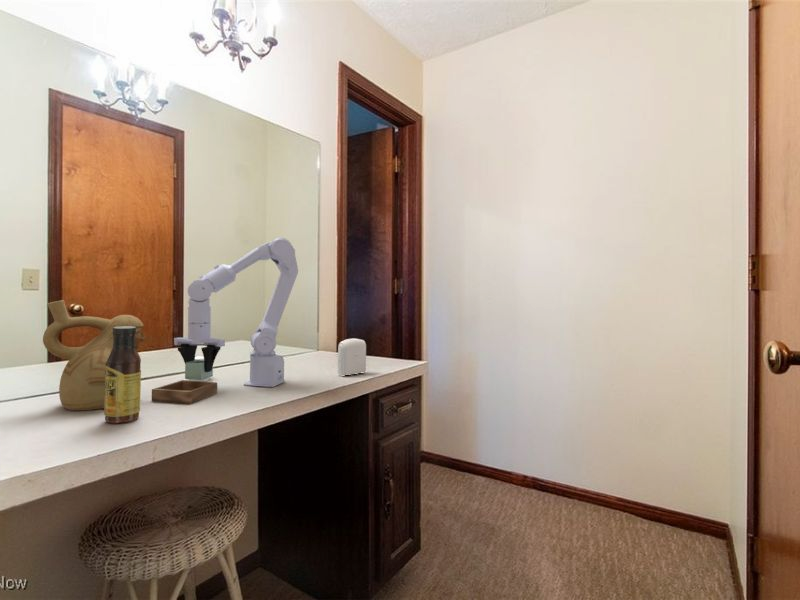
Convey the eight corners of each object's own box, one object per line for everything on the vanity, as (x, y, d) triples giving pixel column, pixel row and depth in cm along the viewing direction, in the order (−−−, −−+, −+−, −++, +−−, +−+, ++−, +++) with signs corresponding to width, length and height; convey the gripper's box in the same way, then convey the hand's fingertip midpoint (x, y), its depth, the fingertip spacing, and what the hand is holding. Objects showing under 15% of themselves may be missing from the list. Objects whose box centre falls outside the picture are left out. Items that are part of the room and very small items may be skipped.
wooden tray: (217, 393, 107) (217, 382, 107) (189, 404, 96) (190, 392, 96) (181, 391, 109) (182, 380, 109) (151, 401, 98) (151, 389, 98)
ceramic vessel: (151, 404, 95) (152, 301, 95) (41, 420, 82) (42, 300, 82) (139, 390, 108) (140, 299, 108) (43, 402, 95) (43, 298, 95)
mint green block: (212, 376, 114) (213, 360, 114) (201, 380, 109) (201, 363, 109) (197, 375, 115) (197, 359, 115) (185, 378, 110) (185, 362, 110)
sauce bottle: (101, 419, 84) (102, 326, 84) (136, 413, 88) (137, 324, 88) (107, 427, 79) (108, 328, 79) (143, 421, 84) (144, 327, 83)
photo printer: (342, 377, 130) (343, 340, 130) (335, 375, 133) (336, 338, 133) (367, 373, 137) (368, 338, 137) (360, 371, 140) (360, 337, 140)
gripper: (166, 323, 109) (165, 372, 109) (213, 325, 106) (213, 375, 107) (184, 321, 116) (184, 367, 116) (229, 323, 113) (229, 370, 114)
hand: (199, 371), depth 112 cm, fingers closed on mint green block, 5 cm apart
